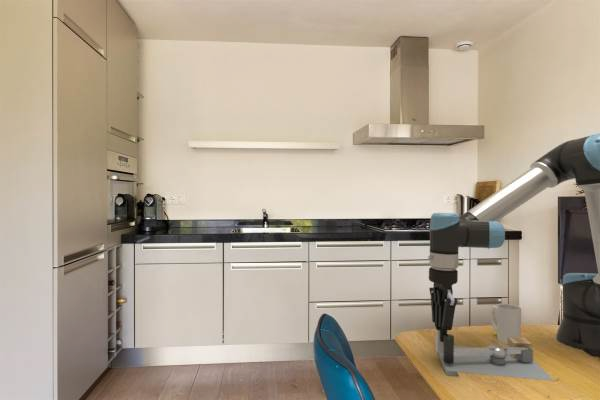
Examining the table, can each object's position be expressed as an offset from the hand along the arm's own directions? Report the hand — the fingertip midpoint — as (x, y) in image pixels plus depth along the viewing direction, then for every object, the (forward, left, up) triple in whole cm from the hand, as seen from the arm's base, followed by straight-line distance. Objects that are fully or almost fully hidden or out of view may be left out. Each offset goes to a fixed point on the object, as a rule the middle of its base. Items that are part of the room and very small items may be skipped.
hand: (441, 351), depth 102 cm
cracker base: (-13, -1, -3) cm, 13 cm away
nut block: (-22, -6, -2) cm, 23 cm away
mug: (-23, -20, -3) cm, 30 cm away
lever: (-12, +1, -1) cm, 12 cm away
